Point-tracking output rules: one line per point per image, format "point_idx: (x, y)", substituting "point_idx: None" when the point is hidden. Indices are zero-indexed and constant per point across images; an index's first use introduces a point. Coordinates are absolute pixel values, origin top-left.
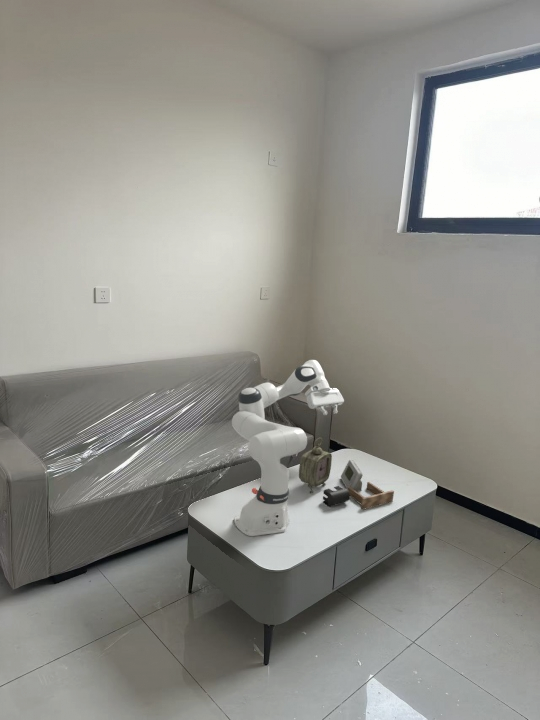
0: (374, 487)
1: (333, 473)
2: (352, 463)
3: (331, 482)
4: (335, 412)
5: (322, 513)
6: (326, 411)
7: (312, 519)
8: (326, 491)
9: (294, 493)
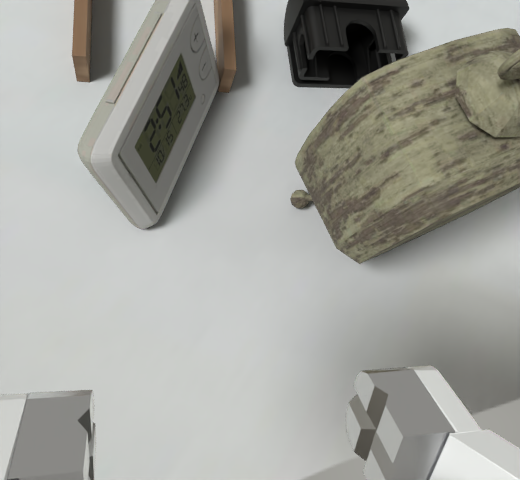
0: (87, 5)
1: (148, 305)
2: (136, 97)
3: (232, 216)
4: (91, 391)
5: (418, 30)
6: (412, 408)
7: (469, 20)
8: (404, 37)
9: None
